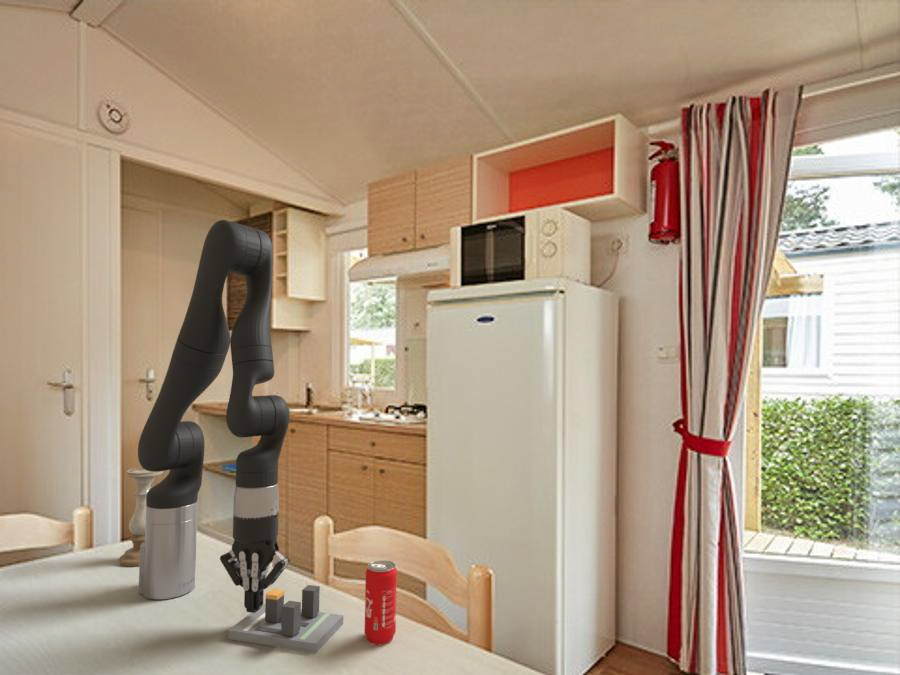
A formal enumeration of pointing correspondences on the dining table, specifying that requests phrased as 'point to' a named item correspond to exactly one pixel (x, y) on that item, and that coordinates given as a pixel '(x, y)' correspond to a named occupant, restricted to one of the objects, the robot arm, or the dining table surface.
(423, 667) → the dining table surface
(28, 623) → the dining table surface
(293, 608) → the block
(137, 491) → the candle holder
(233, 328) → the robot arm
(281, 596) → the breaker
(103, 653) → the dining table surface
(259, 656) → the dining table surface
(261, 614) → the panel
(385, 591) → the beverage can
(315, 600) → the block
